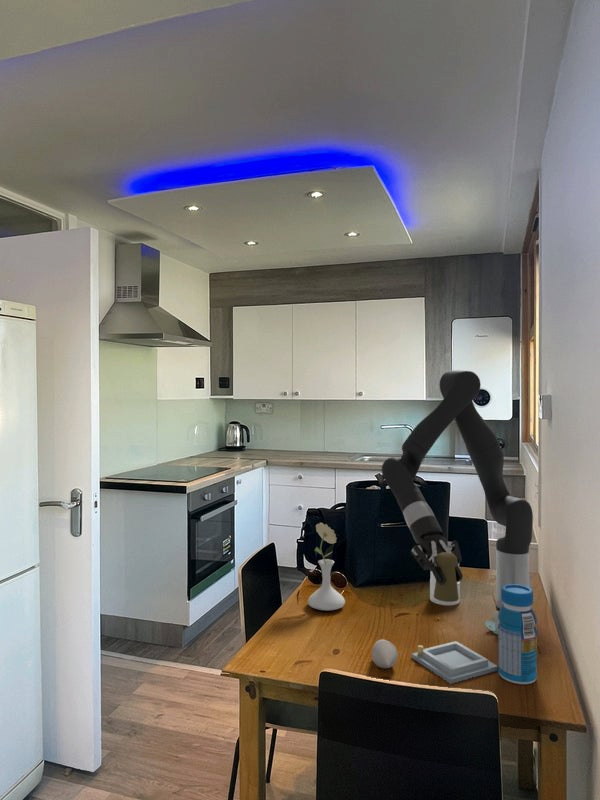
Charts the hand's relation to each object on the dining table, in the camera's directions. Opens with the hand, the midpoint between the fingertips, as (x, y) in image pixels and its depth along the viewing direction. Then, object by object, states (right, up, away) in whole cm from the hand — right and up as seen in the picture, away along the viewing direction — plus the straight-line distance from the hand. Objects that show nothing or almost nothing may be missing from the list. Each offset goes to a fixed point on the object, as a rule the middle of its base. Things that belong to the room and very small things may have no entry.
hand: (451, 581), depth 137 cm
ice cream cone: (-17, -19, -7) cm, 26 cm away
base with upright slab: (+8, -18, +37) cm, 42 cm away
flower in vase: (-30, -18, +33) cm, 48 cm away
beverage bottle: (+12, -18, -11) cm, 24 cm away
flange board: (-1, -18, -4) cm, 19 cm away
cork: (-1, -5, +2) cm, 5 cm away
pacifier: (+17, -18, +13) cm, 28 cm away
